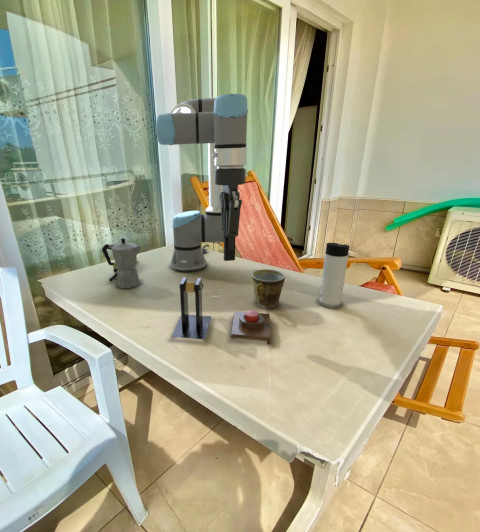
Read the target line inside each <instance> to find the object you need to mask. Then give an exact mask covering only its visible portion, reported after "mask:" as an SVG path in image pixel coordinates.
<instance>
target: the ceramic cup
mask: <svg viewBox="0 0 480 532" xmlns="http://www.w3.org/2000/svg"><path fill="white" fill-rule="evenodd" d="M251 280H252V281H251V282H252V286H253V292H254V300H255V302H257V304H259V305H263V306H264V309H274V308H276V306H277V305H278V304H279V301H280V298H281V294H282V290H283V287H284V284H285V280H286V275H285V274H284V272H281V271H279V270H276V269H271V268H270V269H268V268H265V269H263V268H262V269H258V270H254V271H253V272H252V273H251Z"/></svg>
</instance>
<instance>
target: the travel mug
mask: <svg viewBox="0 0 480 532" xmlns="http://www.w3.org/2000/svg"><path fill="white" fill-rule="evenodd" d="M325 245H326V246H325V252H324V260H323V267H322V268H323V269H322V274H321V275H322V276H321V284H320V292H319V300H318V302H319V304H320V305H321V306H323V307H325V308H330V309H337V308H339V307H341V305H342V300H343V292H344V287H345V286H344V285H345V279H346V272H347V266H348V261H349V251H350V245H349V244H345V243H344V244H342V243H340V244H339V243H338V242H327V243H326V244H325Z"/></svg>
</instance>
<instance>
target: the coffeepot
mask: <svg viewBox="0 0 480 532" xmlns="http://www.w3.org/2000/svg"><path fill="white" fill-rule="evenodd" d="M120 241H121V242H120V243H117V244H114V243H113V244H112V243H111V244H108V243H106V244H104V245H103V247H102V248H101V252H102V253H103V255H104V258H105V259H106V262H107V264H108V265H109V266H113V265H114V263H113V261H112V260H111V256H110V255H109V252H108V251H107V250H109V251H110V250H111V252H112V255H113V258H114V261H115V262H116V265H117V279H116V287H117V288H119V289H132V288H135V287H137V286H139V285H140V284H141V281H140V277H139V273H138V270H137V267H136V263H137V262H136V257H137V256H138V253H139V252H140V251H141V250H142V246H140V245H137V244H136V243H132V242H126V238H120Z"/></svg>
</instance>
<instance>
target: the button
mask: <svg viewBox="0 0 480 532" xmlns="http://www.w3.org/2000/svg"><path fill="white" fill-rule="evenodd" d="M244 312H245V320H247V321H250V322H255V321H258V316H259V313H260V312H258V311H257V310H254V309H248V310H246V311H244Z"/></svg>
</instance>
